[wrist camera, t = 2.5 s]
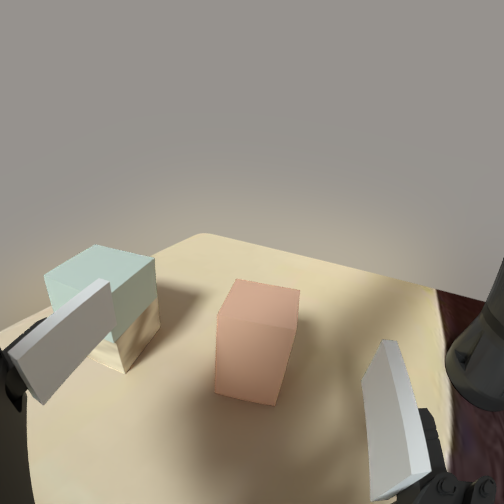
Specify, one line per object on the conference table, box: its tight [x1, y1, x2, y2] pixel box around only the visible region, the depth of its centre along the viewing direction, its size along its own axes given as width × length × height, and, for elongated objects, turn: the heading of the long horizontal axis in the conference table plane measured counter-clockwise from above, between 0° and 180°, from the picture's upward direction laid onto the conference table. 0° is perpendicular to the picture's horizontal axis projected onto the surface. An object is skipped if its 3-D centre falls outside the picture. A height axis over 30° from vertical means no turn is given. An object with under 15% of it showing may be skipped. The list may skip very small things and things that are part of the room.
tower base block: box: [87, 296, 161, 374], centre depth 28 cm, size 9×9×5 cm
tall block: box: [215, 279, 300, 406], centre depth 24 cm, size 6×6×10 cm
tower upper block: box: [44, 244, 157, 343], centre depth 26 cm, size 9×9×5 cm
